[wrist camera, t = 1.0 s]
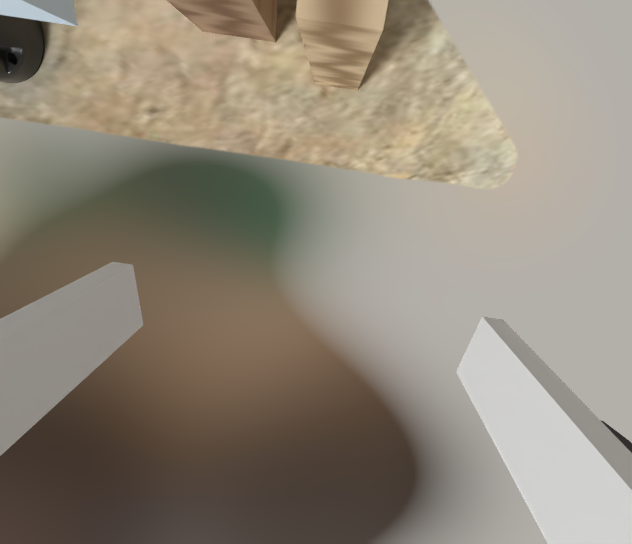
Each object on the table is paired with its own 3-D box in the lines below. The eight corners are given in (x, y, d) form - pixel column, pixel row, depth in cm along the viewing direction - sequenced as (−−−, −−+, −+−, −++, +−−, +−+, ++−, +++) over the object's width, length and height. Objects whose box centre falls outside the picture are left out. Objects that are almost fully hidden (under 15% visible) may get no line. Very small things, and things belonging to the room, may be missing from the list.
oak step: (315, 83, 38) (295, 17, 18) (326, -11, 34) (315, -233, 14) (357, 90, 38) (382, 30, 18) (373, -4, 34) (428, -216, 14)
